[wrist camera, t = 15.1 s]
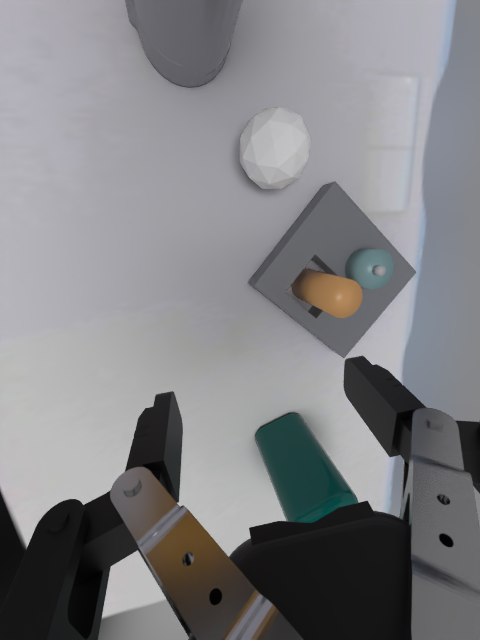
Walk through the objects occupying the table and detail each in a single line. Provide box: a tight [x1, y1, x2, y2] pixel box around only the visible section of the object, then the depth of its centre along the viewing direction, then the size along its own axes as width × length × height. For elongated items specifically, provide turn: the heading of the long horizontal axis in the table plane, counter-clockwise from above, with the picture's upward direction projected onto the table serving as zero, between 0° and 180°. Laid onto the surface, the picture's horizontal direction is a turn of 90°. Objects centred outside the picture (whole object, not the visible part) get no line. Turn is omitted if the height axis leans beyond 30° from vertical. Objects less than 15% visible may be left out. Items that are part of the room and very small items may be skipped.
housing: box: [248, 182, 416, 358], centre depth 38 cm, size 18×16×7 cm
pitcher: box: [255, 413, 358, 523], centre depth 37 cm, size 10×8×22 cm
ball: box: [240, 107, 311, 189], centre depth 31 cm, size 8×8×8 cm
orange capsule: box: [291, 269, 363, 318], centre depth 36 cm, size 4×4×10 cm
